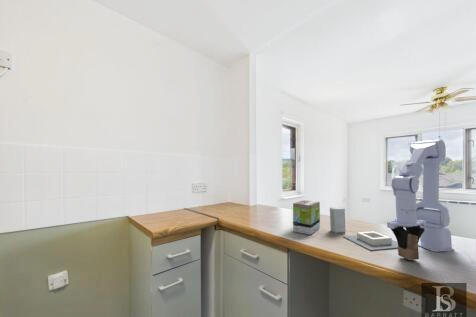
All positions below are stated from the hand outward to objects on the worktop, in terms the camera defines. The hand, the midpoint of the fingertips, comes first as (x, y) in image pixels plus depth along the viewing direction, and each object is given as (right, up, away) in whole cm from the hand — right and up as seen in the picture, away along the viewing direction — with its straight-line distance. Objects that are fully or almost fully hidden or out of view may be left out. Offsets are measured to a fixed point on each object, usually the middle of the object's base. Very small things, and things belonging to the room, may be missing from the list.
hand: (407, 247), depth 72 cm
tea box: (-24, -6, +35) cm, 43 cm away
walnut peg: (0, -3, 0) cm, 3 cm away
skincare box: (-9, -6, +32) cm, 34 cm away
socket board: (-1, -5, +17) cm, 18 cm away
